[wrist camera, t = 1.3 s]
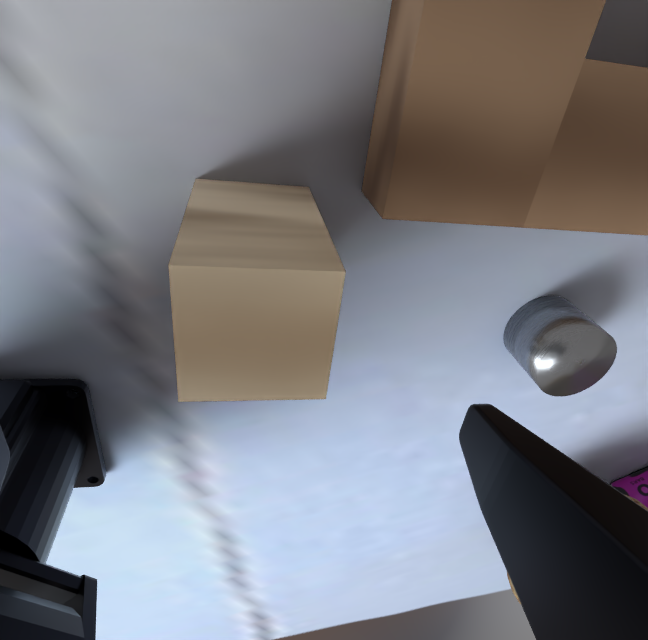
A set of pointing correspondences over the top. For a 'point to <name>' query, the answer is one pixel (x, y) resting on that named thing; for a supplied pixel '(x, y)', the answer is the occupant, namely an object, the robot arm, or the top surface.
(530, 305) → the grey metal cylinder
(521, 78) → the hole block
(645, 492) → the candy bar box
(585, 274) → the top surface
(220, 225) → the tan cardboard cuboid
